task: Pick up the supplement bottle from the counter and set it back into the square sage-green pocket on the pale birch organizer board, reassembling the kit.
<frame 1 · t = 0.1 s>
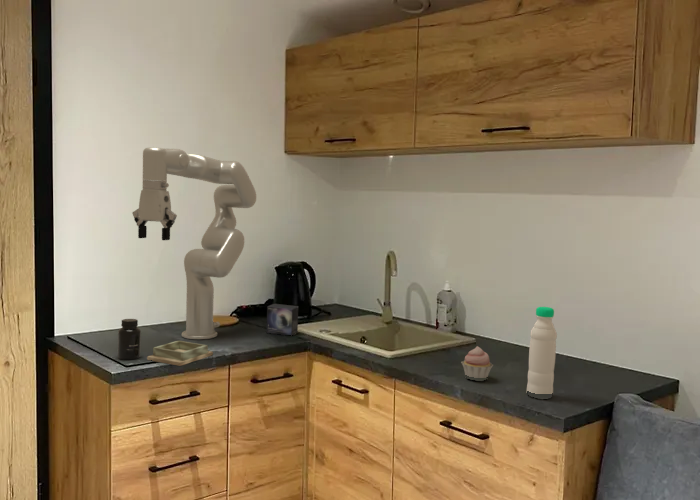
hand: (154, 239, 221), 37 cm above the worktop, tool pointing down, fingers open, 9 cm apart
organizer board: (180, 357, 216), on the worktop
small box: (281, 333, 256), on the worktop
supplement bottle: (129, 358, 214), on the worktop
white milk bottle: (539, 397, 189), on the worktop
cupcake: (475, 379, 204), on the worktop
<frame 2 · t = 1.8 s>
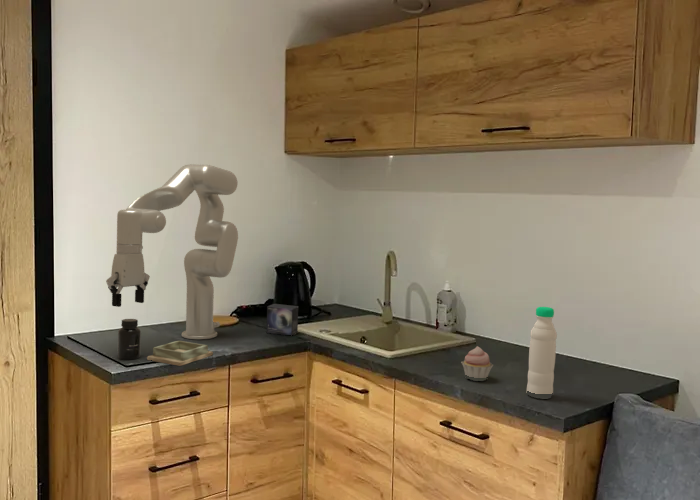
hand: (128, 304, 212), 17 cm above the worktop, tool pointing down, fingers open, 9 cm apart
nothing on the worktop moved.
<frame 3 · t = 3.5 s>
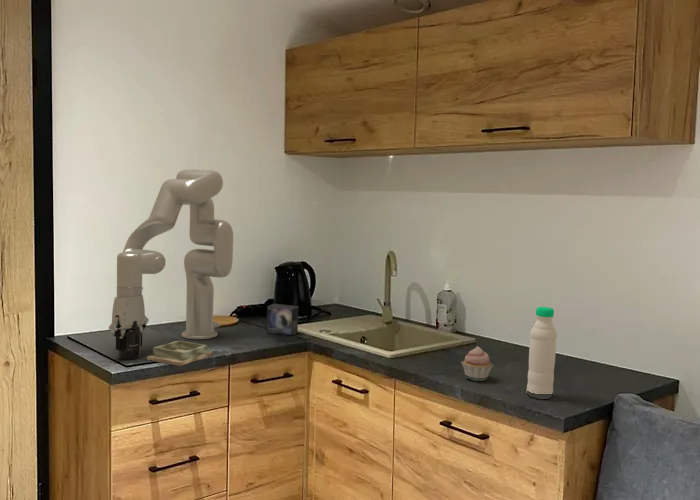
hand: (129, 347, 214), 3 cm above the worktop, tool pointing down, fingers closed on supplement bottle, 6 cm apart
supplement bottle: (129, 358, 214), on the worktop, touching gripper
everything else where it was.
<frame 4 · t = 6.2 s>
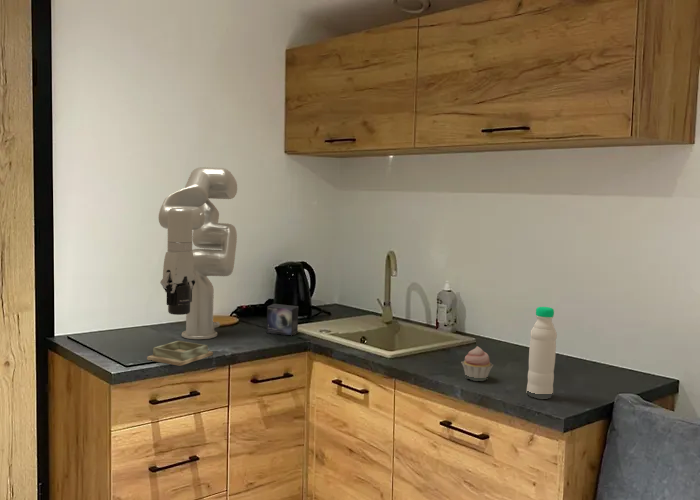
hand: (179, 303, 215), 17 cm above the worktop, tool pointing down, fingers closed on supplement bottle, 6 cm apart
supplement bottle: (179, 313, 215), point 14 cm above the worktop, touching gripper
everything else where it was.
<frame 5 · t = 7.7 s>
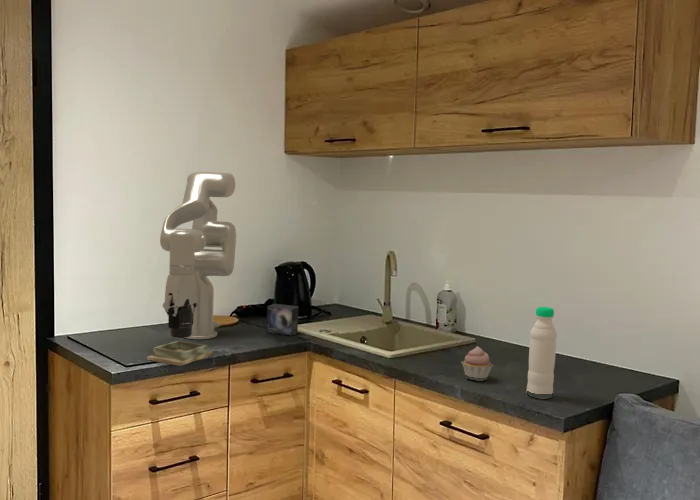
hand: (180, 325, 215), 10 cm above the worktop, tool pointing down, fingers closed on supplement bottle, 6 cm apart
supplement bottle: (180, 336, 216), point 7 cm above the worktop, touching gripper
everything else where it was.
when the fingers open (6 cm above the worktop, at t = 9.1 s): supplement bottle drops 2 cm, resting on organizer board.
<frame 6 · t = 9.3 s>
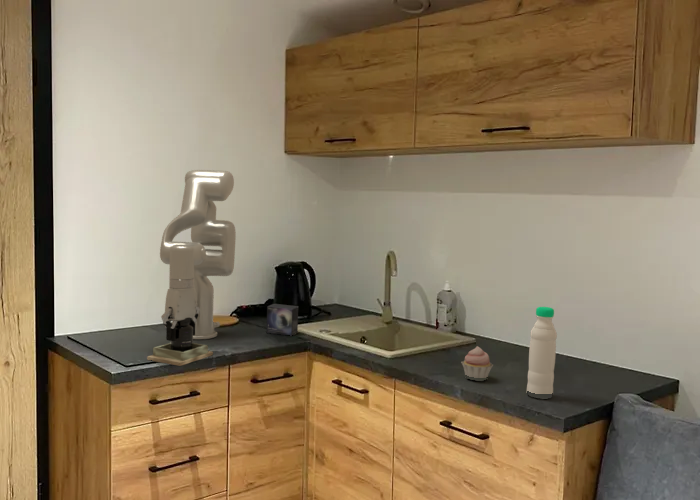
hand: (180, 337, 216), 6 cm above the worktop, tool pointing down, fingers open, 9 cm apart
supplement bottle: (181, 354, 217), point 1 cm above the worktop, touching organizer board
everything else where it was.
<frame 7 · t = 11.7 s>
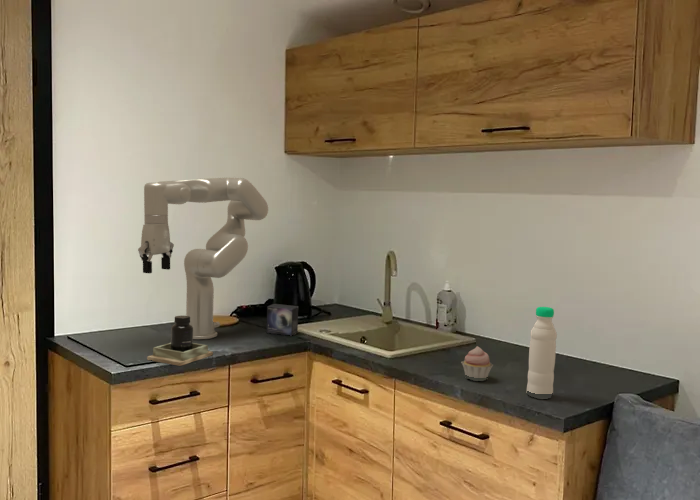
hand: (156, 271, 228), 25 cm above the worktop, tool pointing down, fingers open, 9 cm apart
nothing on the worktop moved.
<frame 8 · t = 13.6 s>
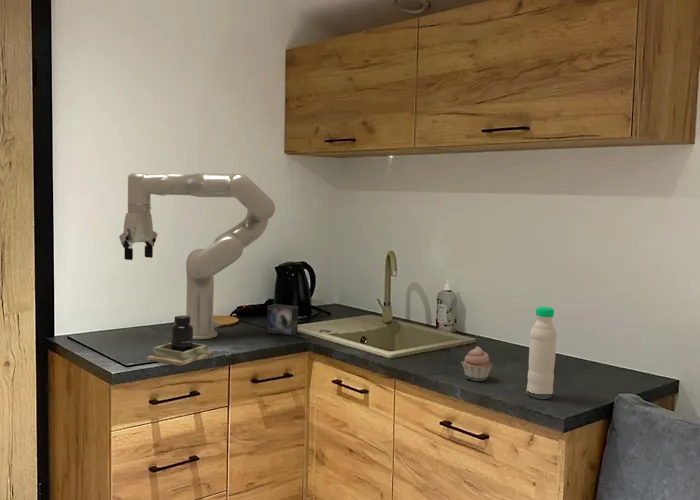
hand: (138, 258, 237), 28 cm above the worktop, tool pointing down, fingers open, 9 cm apart
nothing on the worktop moved.
at the end: supplement bottle 0.5 cm off-centre on the organizer board, point 0.8 cm above the organizer board's base; supplement bottle tilted 0°; the gripper is holding nothing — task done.
